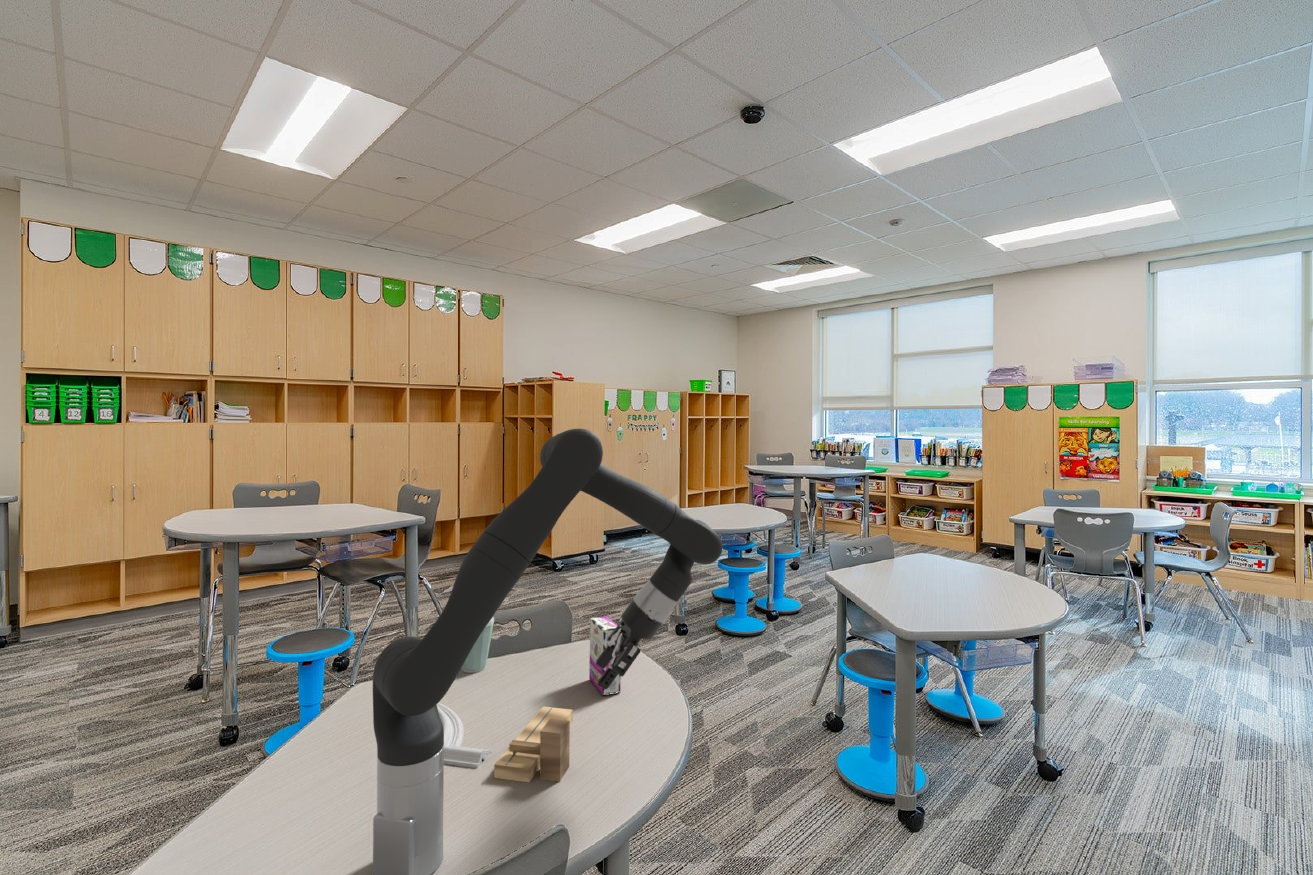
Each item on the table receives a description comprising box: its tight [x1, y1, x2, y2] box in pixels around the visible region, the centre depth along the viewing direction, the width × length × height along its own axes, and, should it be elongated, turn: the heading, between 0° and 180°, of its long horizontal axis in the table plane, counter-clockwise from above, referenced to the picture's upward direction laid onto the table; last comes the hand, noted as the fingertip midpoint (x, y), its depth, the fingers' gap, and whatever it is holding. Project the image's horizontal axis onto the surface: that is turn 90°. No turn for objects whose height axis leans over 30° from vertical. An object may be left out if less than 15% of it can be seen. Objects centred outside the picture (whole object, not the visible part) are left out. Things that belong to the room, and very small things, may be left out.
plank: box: [493, 706, 574, 783], centre depth 122 cm, size 24×7×3 cm, turn 169°
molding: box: [437, 702, 492, 769], centre depth 130 cm, size 42×12×3 cm, turn 34°
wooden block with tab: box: [508, 719, 571, 782], centre depth 113 cm, size 5×11×9 cm, turn 79°
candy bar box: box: [588, 616, 622, 696], centre depth 151 cm, size 11×5×16 cm, turn 25°
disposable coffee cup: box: [461, 616, 495, 674], centre depth 161 cm, size 11×11×15 cm
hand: (600, 675), depth 116 cm, fingers open, 8 cm apart
